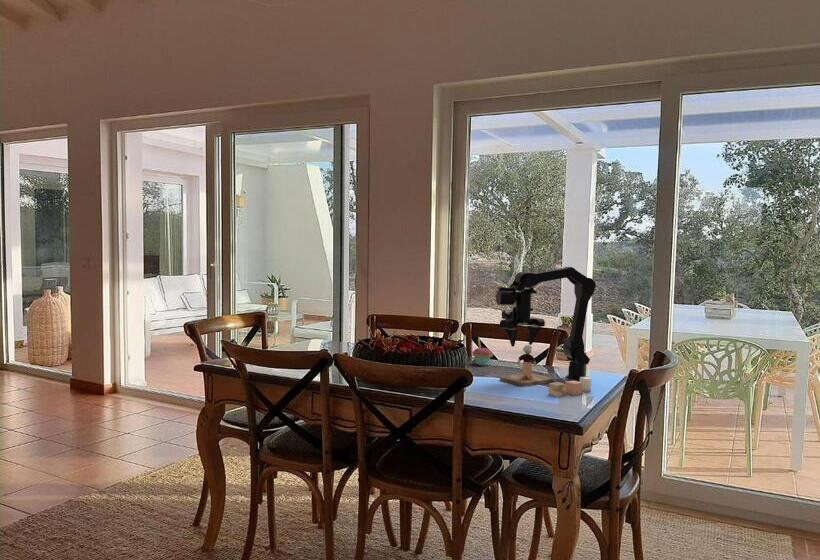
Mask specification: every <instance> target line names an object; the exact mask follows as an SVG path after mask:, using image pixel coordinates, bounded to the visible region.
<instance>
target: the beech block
mask: <svg viewBox="0 0 820 560" xmlns="http://www.w3.org/2000/svg"><path fill="white" fill-rule="evenodd" d="M566 394H567V393H566V383H562V382H559V381H555V382H554V381H553V382H550V383H548V395H549V396H550V395H551V396H554V397H556V398H557V397H563V396H566Z"/></svg>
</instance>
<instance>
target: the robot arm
mask: <svg viewBox="0 0 820 560" xmlns="http://www.w3.org/2000/svg"><path fill="white" fill-rule="evenodd" d="M561 279H567V280H568V281H569V282H570V283H571V284H573V285H574V286H573V287H574V288H573V290H574V296H575V304H574V310H573V317H572V323H571V328H570V332H569V333H570V334H569V336H568V337H567V338H563V345H562V347H561V349H562V352H563V354H564V355H565V357H566V359H567V361H569V362H568V374H567V375H565V377H566V378H569V379H572V380H575V381H580V377H588V376H587V365H589V363H590V359H591V358H590V357H589V356H588V355H587V354H586V353H585V343H584V339H583V336H584V329H585V324H586V318H587V312H588V307H589V301H590V300H591V298H592V297H593V295H594V293H595V291H596V286H597V284H596V282H595V280H594V279H593V278H590V277H587V276H586V275H585V274H582V273H581V272H579V271H578V270H576V268H574V267H573V266H565V267H561V268H554V269H549V270H548V269H547V270H544V271H535V272H534V271H519V272H518V273H516V274H515V277H514V280H513V281H512V283H511V284H510V285H509V286H508V287H504V286H498V288H497V291H496V294H495V301H496V302H495V303H496V305H498V306H513V305H514V304H515V306H513V307H512V311H509V310H507V309H504V310H502V311H501V320H500V321H499V328H502V330H504V331H505V332H506V334H507V337H508V339H509V342H510V346H511V347H515V345H516V340H517V336H518V332H519V331H518V327H519V326H521V327H523V326H526V327H527V330H528V345H530V346H532V345H533V343H534V342H535V340H536V337H537V336H538V334H539V332H540V331H541V330H542V329H543V328H544V327H546V326H545V325H546V322H545V319H544V318H539V317H531V312H534V307H532V294H537V293H538V292H537V291H536V290H535V288H534V286H536V285H538V284H540V283H545V282H549V281H556V280H561Z"/></svg>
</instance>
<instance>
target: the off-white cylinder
mask: <svg viewBox="0 0 820 560" xmlns="http://www.w3.org/2000/svg"><path fill="white" fill-rule="evenodd" d="M579 382H581V383H582V392H584V393H585V392H586V393H589V392H592V377H589V376H587V377H580V380H579Z"/></svg>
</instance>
